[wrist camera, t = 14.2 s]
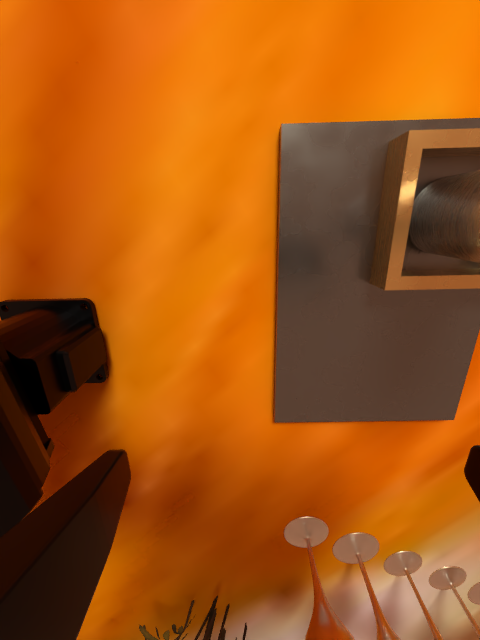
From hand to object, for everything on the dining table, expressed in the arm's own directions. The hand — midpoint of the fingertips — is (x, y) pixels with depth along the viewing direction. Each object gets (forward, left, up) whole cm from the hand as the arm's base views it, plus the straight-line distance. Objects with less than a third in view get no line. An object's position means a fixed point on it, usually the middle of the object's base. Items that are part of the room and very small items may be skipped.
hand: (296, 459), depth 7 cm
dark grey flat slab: (+8, +1, -13) cm, 15 cm away
